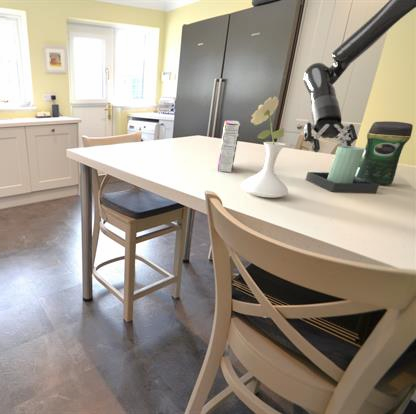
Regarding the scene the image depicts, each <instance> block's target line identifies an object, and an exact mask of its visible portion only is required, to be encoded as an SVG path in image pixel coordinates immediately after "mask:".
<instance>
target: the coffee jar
mask: <svg viewBox="0 0 416 414" xmlns="http://www.w3.org/2000/svg"><path fill="white" fill-rule="evenodd" d="M413 127H414V126H413V124H412V123H409V122H402V121H391V120H389V121H387V120H386V121H375V122H373V123H372V125H371V126H370V128H369V130H368V132H367V134H366V140H367V141H366V144H365V148H364V149H365V150H364V153H363V156H362V158H361V161H360V164H359V167H358V169H357V172H356V175H355V176H356V177H359V178H362V179H365V180H368V181H370V182H373V183H376V184H379V186H380V185H381V186H383V185H384V186H387V185H388V186H389V185H391V184H393V182H394V179H395V176H396V172H397V169H398V166H399V165H398V164H399V160H400V157H401V154H402V151H403V149H404V146H405V145H406V144H407V143H408V142H409V141H410V139H411V137H412V133H413Z"/></svg>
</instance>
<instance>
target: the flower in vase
mask: <svg viewBox="0 0 416 414" xmlns="http://www.w3.org/2000/svg"><path fill="white" fill-rule="evenodd" d="M279 102H280V100H279V98H278V97H277V95H276V96H274V97H273V98H272V97H271V96H270V97H268V99H266V100H265V101H264V102H263V104H259V105H258V107H257V108H258V109H257V110H255V111H254V113H252V115H251V118H252V119H250V123H251V124H253V126H258V125H259V124H262V123H263V122H266V121H267V120H268V119H269V125H270V129H265V130H263V131H261V132H260V133H259V134H257V136H256V138H257V139H260V140H264V139H266V138H268V136H270V135H271V139H272V141H264V142H263V144H264V147H265V153H266V154H265V162H264V166H263V167H262V170H261V171H259V172H258V173H257V174H254V175H252V176H249V177H248V178H247V179H245V180H244V181H242V183H241V184H240V187H241V189H242V190H243V191H244V192H246V193H248V194H250V195H253V196H257V197H261V198H262V197H263V198H269V199H270V198H275V199H276V198H281V197H286V195H288V193H289V189H288V187H287V185H286V184H285V183H284V182H283V181H282V180H281V179H280V178H279V177H278V176H277V174H276V173H275V164H276V160H277V158H278V155H279V153H280V152H281V151H282V149H284V147H285V146H287V144H286V143H285V142H284V143H283V142H278V141H275V140H276V139H280V138H282V137H284V135H285V129H284V127H282V128H279V129H278V130H274V131H273V123H272V117H271V116H272V115H273V114H275V111H276V110H277V108H278V106H279V105H280V103H279Z"/></svg>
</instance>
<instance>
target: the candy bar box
mask: <svg viewBox="0 0 416 414" xmlns="http://www.w3.org/2000/svg"><path fill="white" fill-rule="evenodd" d="M240 129H241V123H240V121H239V120H224V124H223V130H222V135H221V141H220V142H221V143H220V148H219V154H218V162H217V172H220V173H233V167H234V162H235V157H236V151H237V146H238V141H239V136H240V135H239V134H240Z"/></svg>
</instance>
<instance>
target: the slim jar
mask: <svg viewBox="0 0 416 414" xmlns="http://www.w3.org/2000/svg"><path fill="white" fill-rule="evenodd" d="M364 150H365V148H364V147H358V146H352V145H351V146H342V145H338V146H337V148H336V151H335V154H334V156H333V160H332V162H331V167H330V169H329V171H328V173H329V175H328V178H327V180H330V181H332V182H335V183H353V180H354V177H355V175H356V172H357V169H358V167H359V164H360V161H361V158H362V156H363V153H364Z"/></svg>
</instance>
